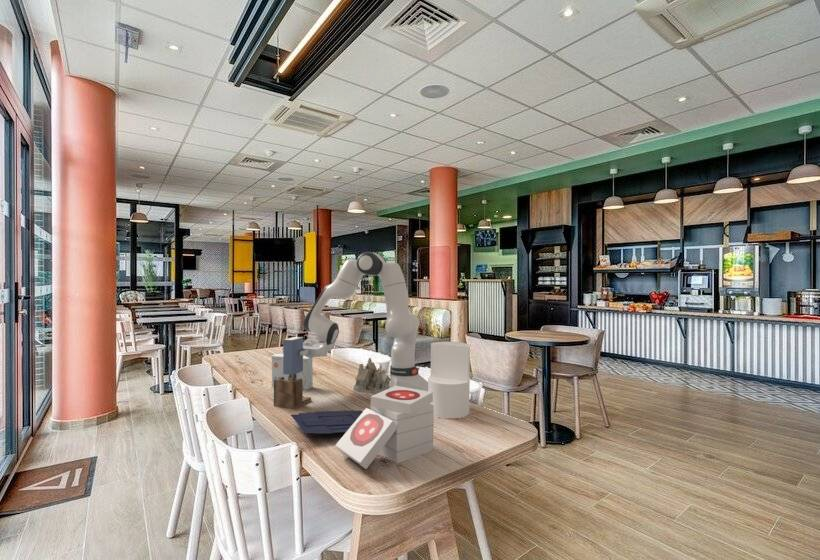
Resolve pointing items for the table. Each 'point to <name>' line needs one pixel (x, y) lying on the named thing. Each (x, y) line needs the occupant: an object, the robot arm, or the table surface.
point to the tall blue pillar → (292, 355)
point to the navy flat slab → (326, 421)
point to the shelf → (289, 393)
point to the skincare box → (305, 374)
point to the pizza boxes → (391, 427)
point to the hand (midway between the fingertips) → (293, 353)
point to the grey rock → (371, 379)
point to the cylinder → (450, 379)
